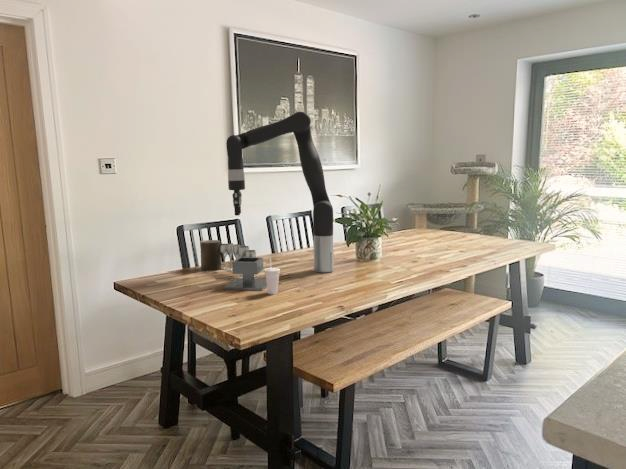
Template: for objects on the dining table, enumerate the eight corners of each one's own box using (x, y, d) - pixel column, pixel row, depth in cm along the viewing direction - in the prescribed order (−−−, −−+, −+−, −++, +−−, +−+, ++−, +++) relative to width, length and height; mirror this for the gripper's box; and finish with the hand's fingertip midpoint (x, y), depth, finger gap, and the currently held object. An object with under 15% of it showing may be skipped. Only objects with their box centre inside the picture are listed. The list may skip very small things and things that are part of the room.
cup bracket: (271, 281, 214) (270, 256, 212) (262, 290, 198) (261, 264, 196) (236, 280, 216) (235, 255, 214) (224, 289, 200) (223, 263, 199)
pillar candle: (216, 271, 233) (215, 240, 231) (197, 270, 235) (196, 239, 233) (224, 267, 243) (223, 237, 241) (206, 266, 245) (205, 237, 243)
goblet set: (259, 276, 223) (258, 247, 221) (249, 278, 219) (248, 249, 217) (226, 266, 243) (225, 240, 241) (216, 268, 239) (215, 242, 237)
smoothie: (264, 291, 197) (263, 257, 195) (280, 290, 198) (279, 256, 196) (264, 295, 191) (263, 260, 189) (280, 295, 192) (280, 260, 189)
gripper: (243, 179, 218) (245, 215, 220) (245, 178, 232) (246, 212, 234) (226, 180, 217) (228, 216, 220) (229, 179, 231) (231, 213, 234)
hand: (237, 214), depth 227 cm, fingers open, 8 cm apart
